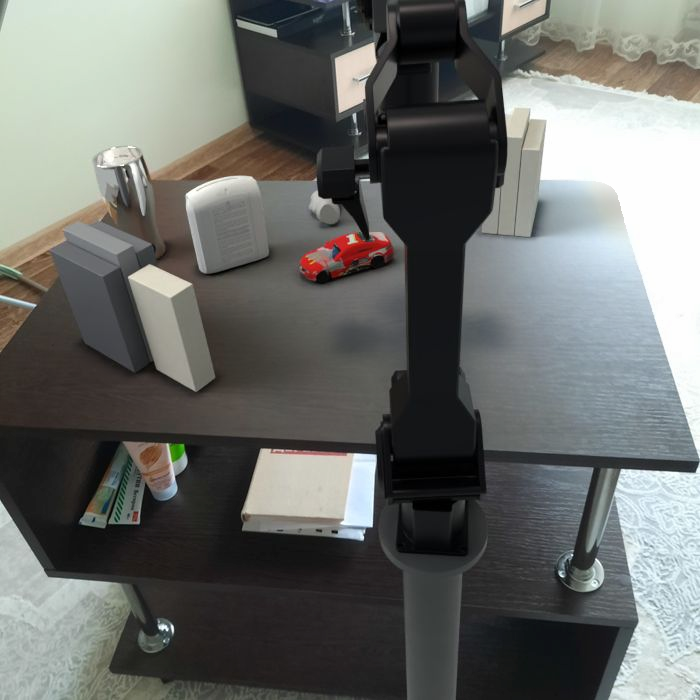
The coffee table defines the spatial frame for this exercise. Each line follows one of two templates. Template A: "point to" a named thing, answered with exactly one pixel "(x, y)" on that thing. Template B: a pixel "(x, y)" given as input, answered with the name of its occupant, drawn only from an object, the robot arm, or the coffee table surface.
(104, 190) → the silver metal cup
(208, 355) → the white book
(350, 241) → the race car
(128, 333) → the grey books
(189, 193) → the photo printer
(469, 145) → the robot arm
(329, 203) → the pale two-lobed sculpture
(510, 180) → the white books
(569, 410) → the coffee table surface
